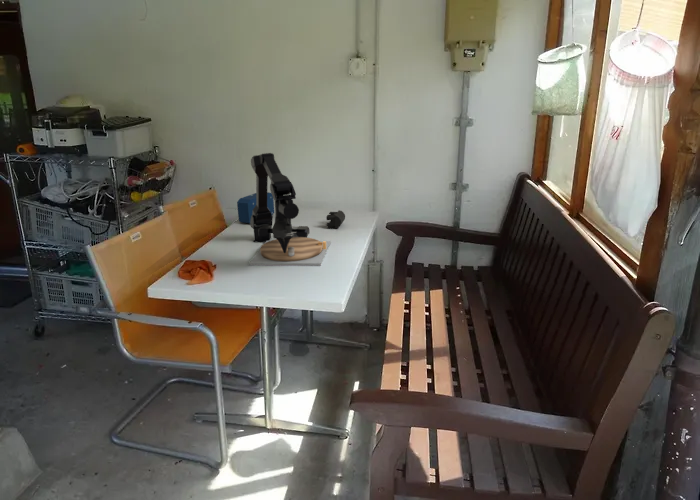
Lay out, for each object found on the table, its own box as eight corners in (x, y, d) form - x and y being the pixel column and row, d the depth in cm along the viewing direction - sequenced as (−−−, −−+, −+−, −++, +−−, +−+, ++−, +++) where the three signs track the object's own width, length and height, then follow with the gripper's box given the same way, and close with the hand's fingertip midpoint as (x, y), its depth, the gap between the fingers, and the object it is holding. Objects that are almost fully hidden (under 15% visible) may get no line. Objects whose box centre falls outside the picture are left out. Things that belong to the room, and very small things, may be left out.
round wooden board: (262, 243, 231) (261, 232, 230) (321, 240, 233) (320, 228, 232) (258, 263, 207) (257, 250, 206) (324, 259, 210) (323, 247, 208)
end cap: (341, 229, 252) (341, 215, 250) (326, 229, 253) (326, 215, 251) (345, 223, 261) (345, 210, 259) (331, 223, 262) (330, 210, 260)
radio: (262, 213, 285) (259, 175, 278) (276, 215, 281) (273, 176, 274) (236, 223, 267) (232, 183, 261) (251, 225, 263) (247, 184, 257)
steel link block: (287, 239, 239) (286, 228, 238) (289, 237, 243) (288, 225, 242) (305, 240, 239) (304, 228, 237) (307, 237, 242) (306, 225, 241)
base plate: (248, 265, 209) (247, 255, 208) (266, 242, 236) (266, 234, 234) (320, 265, 206) (320, 255, 205) (330, 243, 233) (330, 234, 231)
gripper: (252, 217, 197) (255, 258, 202) (303, 218, 195) (304, 260, 200) (260, 210, 208) (263, 249, 212) (309, 211, 205) (310, 250, 210)
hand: (285, 252), depth 208 cm, fingers closed
